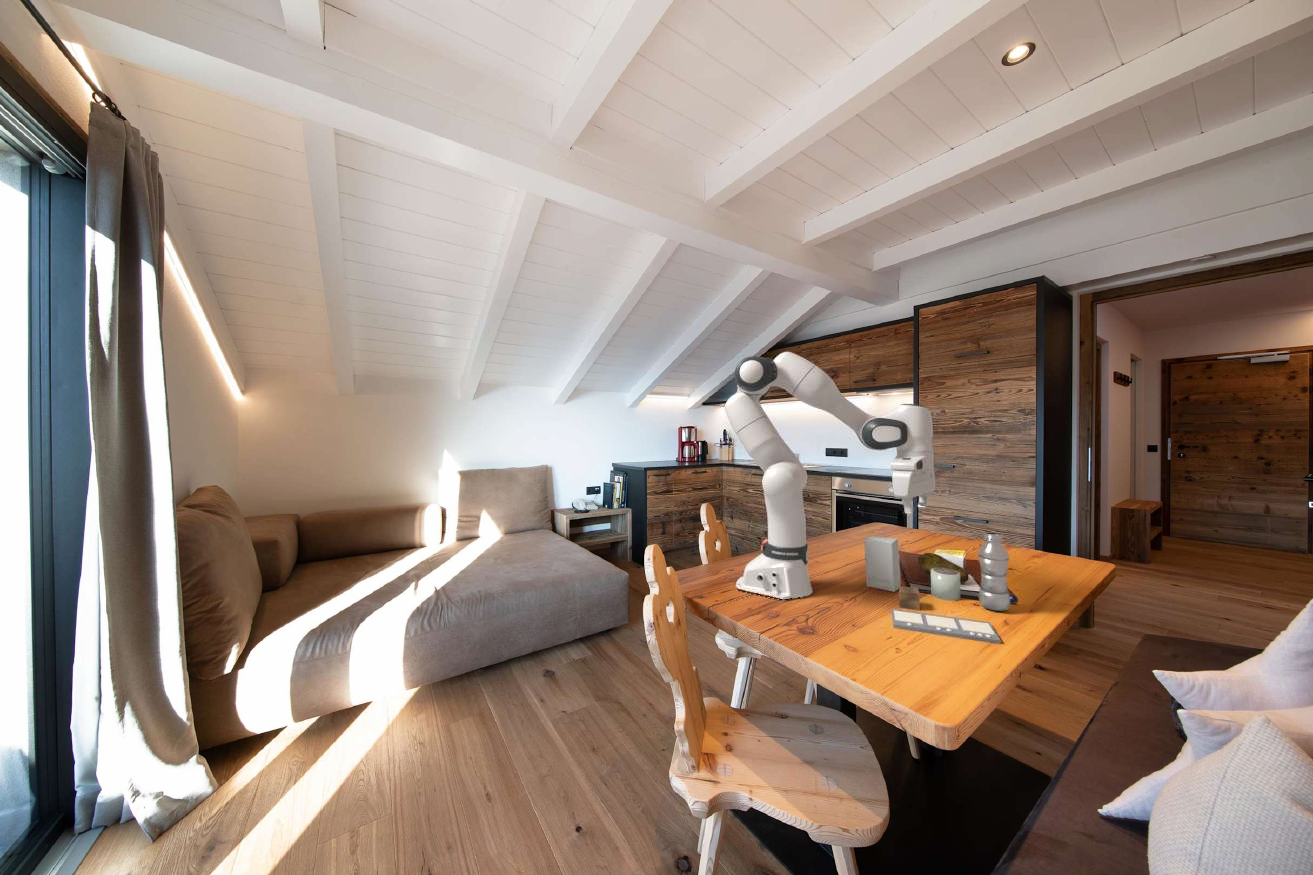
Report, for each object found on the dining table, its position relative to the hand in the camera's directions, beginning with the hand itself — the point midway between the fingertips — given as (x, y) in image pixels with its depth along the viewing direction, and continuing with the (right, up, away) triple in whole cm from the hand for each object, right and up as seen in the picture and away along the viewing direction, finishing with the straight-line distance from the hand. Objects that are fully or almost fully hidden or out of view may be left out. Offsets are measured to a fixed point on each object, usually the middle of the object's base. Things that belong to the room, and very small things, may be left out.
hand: (916, 511), depth 123 cm
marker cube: (-4, -25, -4) cm, 26 cm away
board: (-3, -25, -16) cm, 30 cm away
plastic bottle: (+17, -25, -7) cm, 31 cm away
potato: (+17, -25, +15) cm, 34 cm away
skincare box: (-4, -25, +11) cm, 28 cm away
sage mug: (+10, -25, +3) cm, 27 cm away
